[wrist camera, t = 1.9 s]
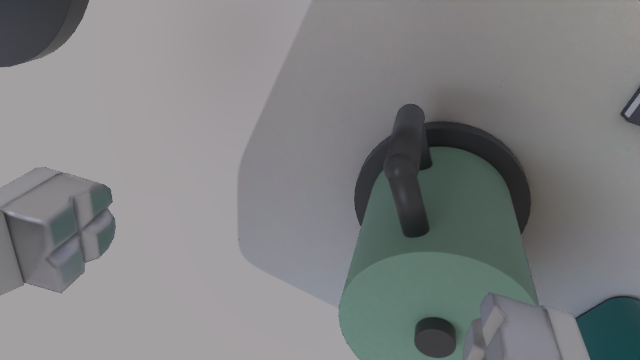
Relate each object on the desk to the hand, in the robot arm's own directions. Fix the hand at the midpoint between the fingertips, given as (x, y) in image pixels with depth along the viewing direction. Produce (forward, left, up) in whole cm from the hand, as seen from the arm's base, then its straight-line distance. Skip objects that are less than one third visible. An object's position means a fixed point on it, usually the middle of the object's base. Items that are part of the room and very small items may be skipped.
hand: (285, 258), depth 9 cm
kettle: (+8, -13, -27) cm, 31 cm away
